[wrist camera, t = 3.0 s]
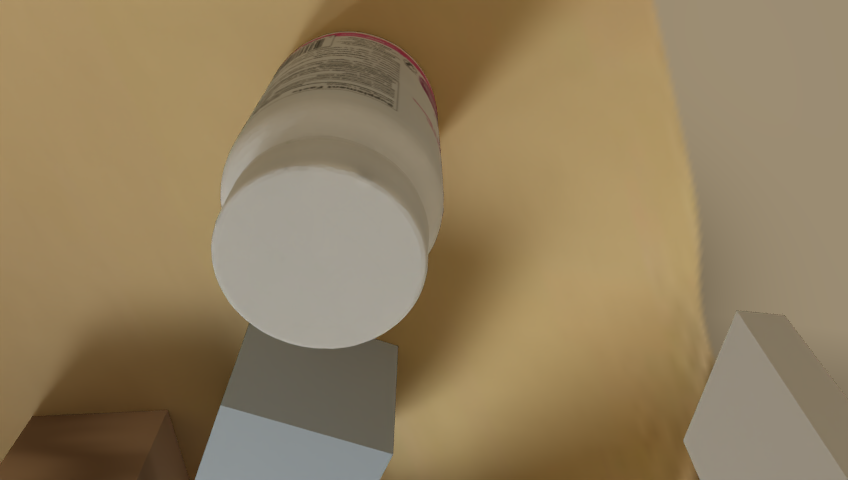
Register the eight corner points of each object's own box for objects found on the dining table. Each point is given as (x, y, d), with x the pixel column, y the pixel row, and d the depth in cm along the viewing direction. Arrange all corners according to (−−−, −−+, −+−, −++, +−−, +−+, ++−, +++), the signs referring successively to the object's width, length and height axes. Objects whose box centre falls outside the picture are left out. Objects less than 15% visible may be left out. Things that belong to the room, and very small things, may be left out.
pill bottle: (433, 190, 22) (440, 372, 14) (275, 183, 21) (200, 364, 14) (443, 31, 19) (457, 150, 12) (266, 22, 19) (170, 138, 12)
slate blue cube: (220, 406, 26) (180, 520, 22) (257, 300, 24) (220, 404, 19) (350, 442, 27) (337, 560, 22) (398, 344, 25) (393, 454, 20)
